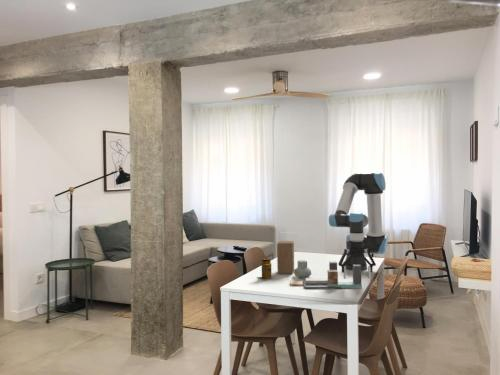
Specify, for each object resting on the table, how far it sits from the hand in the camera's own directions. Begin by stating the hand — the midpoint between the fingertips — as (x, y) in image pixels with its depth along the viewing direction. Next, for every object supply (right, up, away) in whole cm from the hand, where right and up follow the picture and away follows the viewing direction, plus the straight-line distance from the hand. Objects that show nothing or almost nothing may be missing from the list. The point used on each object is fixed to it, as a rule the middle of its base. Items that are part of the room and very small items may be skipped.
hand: (357, 278), depth 232 cm
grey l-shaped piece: (-7, -5, +1) cm, 8 cm away
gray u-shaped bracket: (-18, -5, +10) cm, 22 cm away
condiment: (-50, -5, +24) cm, 56 cm away
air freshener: (-27, -5, +26) cm, 38 cm away
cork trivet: (-33, -5, +8) cm, 34 cm away
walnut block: (-13, -3, +1) cm, 14 cm away
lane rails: (-19, -5, +6) cm, 20 cm away
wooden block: (-36, -5, +39) cm, 54 cm away
